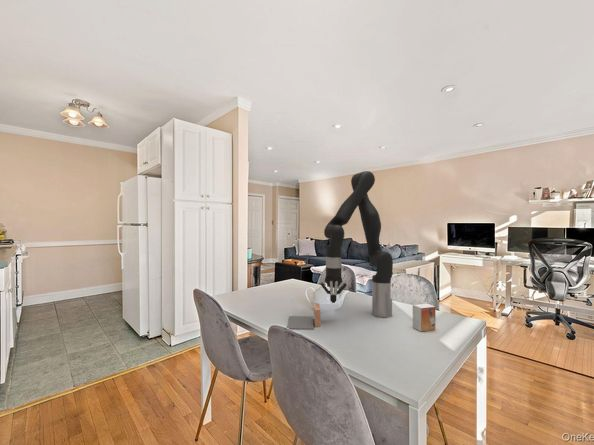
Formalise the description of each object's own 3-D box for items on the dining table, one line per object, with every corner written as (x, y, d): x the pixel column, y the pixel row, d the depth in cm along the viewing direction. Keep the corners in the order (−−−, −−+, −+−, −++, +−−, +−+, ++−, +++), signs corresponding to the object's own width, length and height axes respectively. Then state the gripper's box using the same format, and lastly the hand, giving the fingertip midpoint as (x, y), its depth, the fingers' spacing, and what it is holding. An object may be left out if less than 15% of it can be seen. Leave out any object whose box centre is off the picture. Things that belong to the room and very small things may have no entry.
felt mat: (312, 316, 136) (312, 316, 136) (313, 329, 120) (313, 328, 120) (289, 316, 137) (289, 316, 137) (287, 329, 121) (287, 328, 121)
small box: (420, 332, 117) (420, 308, 117) (412, 327, 122) (412, 304, 122) (436, 330, 119) (435, 306, 119) (426, 325, 124) (426, 303, 124)
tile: (319, 319, 133) (319, 303, 133) (320, 327, 123) (320, 309, 123) (314, 319, 133) (314, 303, 133) (315, 327, 123) (314, 309, 123)
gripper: (346, 265, 131) (345, 300, 131) (319, 264, 132) (319, 299, 132) (348, 267, 124) (348, 305, 124) (320, 267, 124) (319, 304, 124)
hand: (333, 302), depth 128 cm, fingers closed
